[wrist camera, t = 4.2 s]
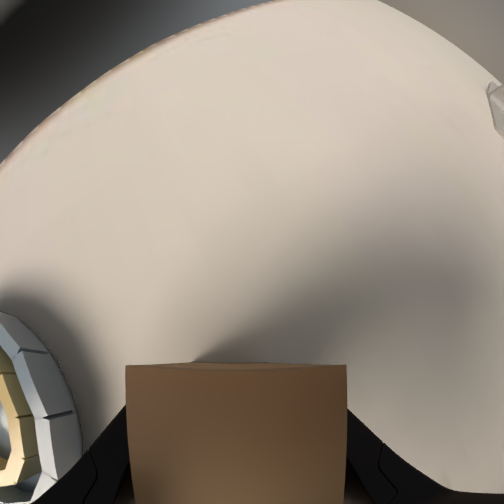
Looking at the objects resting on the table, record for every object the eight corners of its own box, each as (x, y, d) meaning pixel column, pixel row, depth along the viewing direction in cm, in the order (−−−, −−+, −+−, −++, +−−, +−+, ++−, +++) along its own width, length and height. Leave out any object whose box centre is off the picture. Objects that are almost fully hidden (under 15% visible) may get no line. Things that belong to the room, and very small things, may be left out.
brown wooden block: (266, 430, 14) (339, 533, 3) (192, 430, 13) (143, 539, 3) (264, 362, 15) (346, 364, 5) (191, 362, 15) (125, 365, 4)
